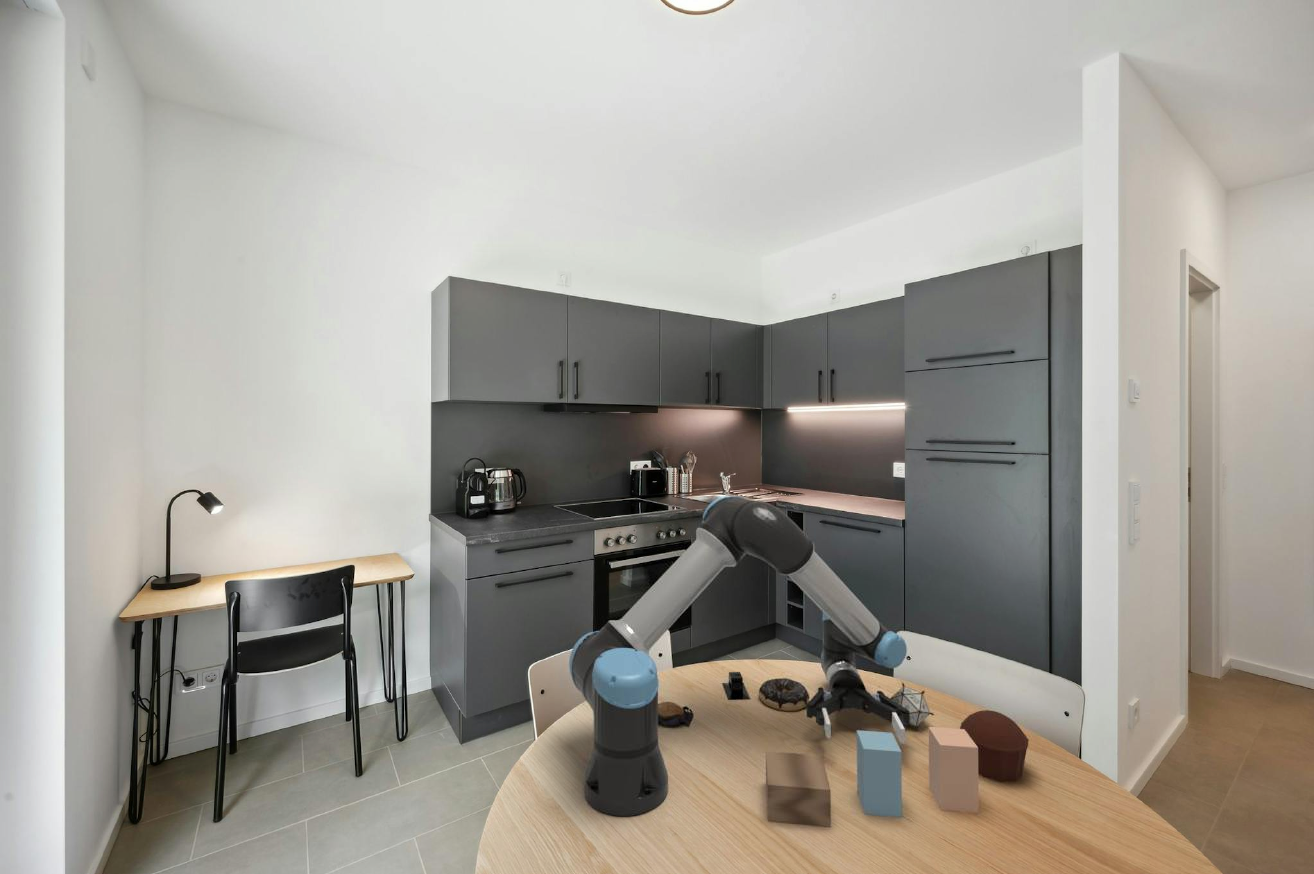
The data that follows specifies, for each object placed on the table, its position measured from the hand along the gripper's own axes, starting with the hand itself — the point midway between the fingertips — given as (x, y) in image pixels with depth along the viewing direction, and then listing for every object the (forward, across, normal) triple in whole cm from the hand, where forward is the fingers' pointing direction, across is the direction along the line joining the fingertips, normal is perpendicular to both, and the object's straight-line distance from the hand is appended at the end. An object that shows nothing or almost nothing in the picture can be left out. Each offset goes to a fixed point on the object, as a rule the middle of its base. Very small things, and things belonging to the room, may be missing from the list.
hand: (865, 733), depth 107 cm
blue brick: (+11, 0, +7) cm, 13 cm away
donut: (-26, -14, +7) cm, 30 cm away
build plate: (-30, -25, +7) cm, 39 cm away
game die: (-18, +13, +7) cm, 23 cm away
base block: (+13, -14, +6) cm, 20 cm away
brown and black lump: (-14, -40, +7) cm, 43 cm away
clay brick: (+8, +13, +7) cm, 16 cm away
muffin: (-3, +24, +7) cm, 25 cm away
